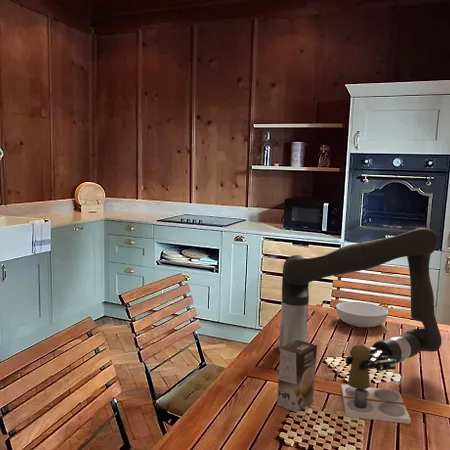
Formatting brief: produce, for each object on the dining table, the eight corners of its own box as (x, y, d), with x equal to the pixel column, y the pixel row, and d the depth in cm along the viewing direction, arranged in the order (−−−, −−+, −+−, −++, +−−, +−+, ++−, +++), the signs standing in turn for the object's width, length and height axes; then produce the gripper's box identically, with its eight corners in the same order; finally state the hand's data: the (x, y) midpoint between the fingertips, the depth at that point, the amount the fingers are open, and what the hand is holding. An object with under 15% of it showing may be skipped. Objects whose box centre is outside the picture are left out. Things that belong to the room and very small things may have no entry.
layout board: (345, 416, 123) (345, 411, 123) (341, 388, 138) (341, 383, 138) (410, 424, 120) (410, 418, 120) (398, 394, 136) (398, 389, 136)
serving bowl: (392, 322, 200) (393, 306, 200) (379, 336, 183) (380, 319, 182) (344, 313, 211) (345, 298, 211) (327, 325, 194) (328, 309, 193)
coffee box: (296, 413, 123) (300, 354, 121) (276, 405, 127) (279, 347, 125) (314, 400, 130) (317, 344, 128) (294, 393, 134) (297, 338, 132)
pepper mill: (371, 390, 130) (373, 351, 128) (348, 387, 131) (350, 349, 130) (368, 380, 136) (371, 343, 134) (347, 378, 137) (349, 341, 136)
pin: (354, 407, 125) (355, 393, 124) (353, 401, 128) (354, 387, 127) (367, 409, 124) (368, 394, 123) (365, 403, 127) (366, 389, 127)
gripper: (372, 331, 146) (334, 342, 136) (413, 346, 135) (375, 360, 125) (371, 354, 147) (333, 367, 137) (412, 371, 136) (374, 387, 126)
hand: (353, 364), depth 131 cm, fingers closed on pepper mill, 4 cm apart
